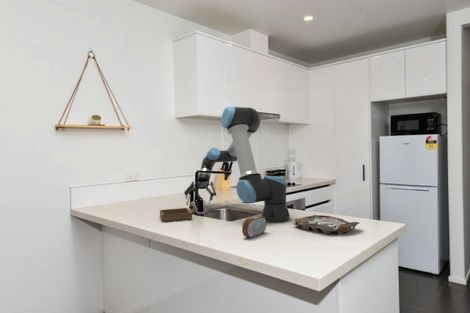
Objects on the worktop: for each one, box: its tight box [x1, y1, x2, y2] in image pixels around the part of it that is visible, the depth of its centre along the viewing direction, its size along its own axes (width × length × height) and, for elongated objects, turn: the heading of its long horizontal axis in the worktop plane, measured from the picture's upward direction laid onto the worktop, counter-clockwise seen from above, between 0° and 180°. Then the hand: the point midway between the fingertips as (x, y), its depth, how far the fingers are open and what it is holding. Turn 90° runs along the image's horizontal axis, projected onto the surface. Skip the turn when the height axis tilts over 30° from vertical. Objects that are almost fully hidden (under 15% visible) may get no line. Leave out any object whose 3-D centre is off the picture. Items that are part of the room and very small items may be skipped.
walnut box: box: [159, 207, 193, 223], centre depth 184 cm, size 16×16×4 cm
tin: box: [241, 214, 267, 239], centre depth 145 cm, size 15×3×8 cm, turn 141°
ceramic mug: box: [189, 198, 208, 215], centre depth 199 cm, size 11×8×8 cm
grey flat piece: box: [293, 214, 360, 235], centre depth 156 cm, size 30×22×5 cm
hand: (197, 204), depth 199 cm, fingers open, 13 cm apart
